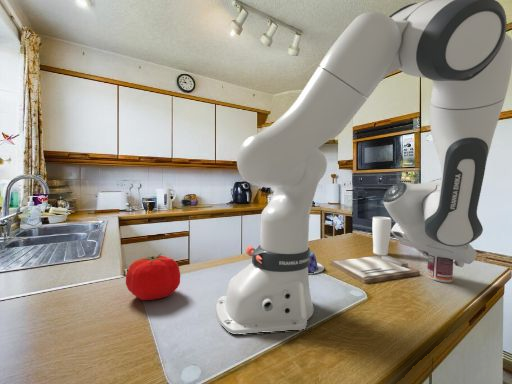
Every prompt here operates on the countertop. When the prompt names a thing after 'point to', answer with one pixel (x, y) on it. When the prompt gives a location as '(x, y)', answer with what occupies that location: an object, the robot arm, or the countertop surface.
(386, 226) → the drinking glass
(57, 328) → the countertop surface
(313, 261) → the pudding
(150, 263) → the tomato
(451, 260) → the pill bottle
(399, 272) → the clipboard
